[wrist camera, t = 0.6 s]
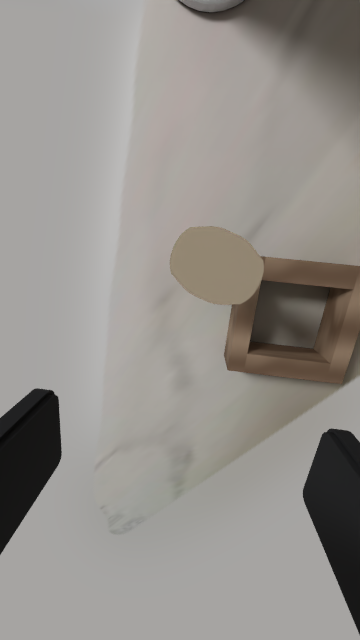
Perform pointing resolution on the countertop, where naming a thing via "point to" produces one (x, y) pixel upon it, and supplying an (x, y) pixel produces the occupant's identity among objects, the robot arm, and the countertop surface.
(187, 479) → the countertop surface
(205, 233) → the handle
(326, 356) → the square frame
